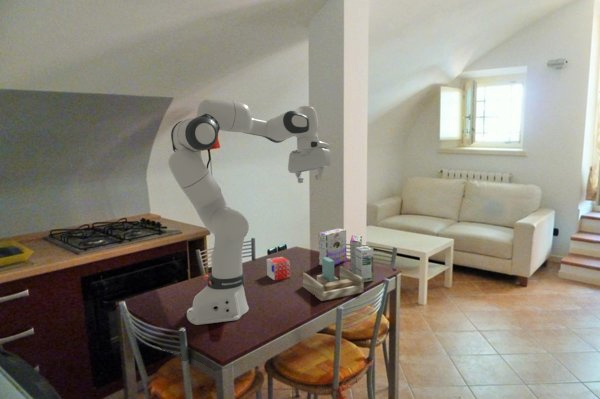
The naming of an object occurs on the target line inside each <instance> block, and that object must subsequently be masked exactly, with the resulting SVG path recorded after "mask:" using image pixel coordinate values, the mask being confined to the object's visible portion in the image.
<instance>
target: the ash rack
mask: <svg viewBox="0 0 600 399" xmlns="http://www.w3.org/2000/svg"><path fill="white" fill-rule="evenodd" d="M345 279H349V280H351V281H352V282H353V286H351V287H346V288H341V289H336V290H331V291H326V292H324V285H322V284H323V283H328V281H327V280H326V279H324V278H323V275H322V274H319V275H316V279H315V278H314V277H312V276H311V275H309V274H307V273H306V272H302V287H303V288H304V289H305V290H306V291H307V292H308V293H309V292H310V294H312V295H313V296H314V295H315V297H316V298H317V299H318V300H320V301H321V302H323V301H327V300H333V299H338V298H342V297H347V296H352V295H357V294H362V293H364V282H363V278H362V277H361V276H359V275H357V274H355V273H353V272H352V271H351V269H348V268H346V267H345V266H339V278H338V277H336V275H334V281H339V280H345Z"/></svg>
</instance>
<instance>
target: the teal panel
mask: <svg viewBox="0 0 600 399" xmlns="http://www.w3.org/2000/svg"><path fill="white" fill-rule="evenodd" d="M321 268H322V273H321V275H323V278H324V279H326V280H327V281H328V283H329V282H334V276H335V265H334V260H332V259H330V258H328V257H325V258H322V266H321Z"/></svg>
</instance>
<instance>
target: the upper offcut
mask: <svg viewBox="0 0 600 399" xmlns="http://www.w3.org/2000/svg"><path fill="white" fill-rule="evenodd" d="M322 285H324V291H325V292H326V291H331V290H336V289H341V288H346V287H351V286H353V282H352V281H351V280H349V279H345V280H340V279H339V281H334V282H329V283H323V284H322Z"/></svg>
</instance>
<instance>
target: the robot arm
mask: <svg viewBox="0 0 600 399" xmlns="http://www.w3.org/2000/svg"><path fill="white" fill-rule="evenodd" d="M316 110H317V109H315V108H314V107H312V106H310V105H302V106H301V105H300V106H299V107H298V108H296V109H293V110H289V111H288V110H287V111H286V112H284V113H280V115H278V116H275V117H274V118H270V119H268V120H263V119H258V118H254V117H252V116H253V115H252V111H251V108H250V107H249V106H248V105H247V104H246V103H244V102H241V101H238V100H233V99H226V98H205V99H202V100H201V102H200V103H199V105H198V106H197V110H196V111H197V112H196V113H197V114H196V116H195V117H192V118H191V117H190V118H187V119H184V120H180V121H178V122H177V123H176V124H175V125H173V127H172V129H171V131H170V140H171V144H172V145H171V146H172V151H173V153H172V154H171V155H170V156H169V158H168V161H167V162H168V167H169V169H170V171H171V174H172V176H173V177H174V179H175V181H176V182H177V184H178V186H179V188H180V189H181V190H182V192H183V193H184V194H185V196H186V197H187V198H188V200H189V201H190V203H191V204H192V206H193V207H194V209H195V211H196V212H197V215H198V217H199V218H200V220H201V222H202V224H203V225H204V226H205V229H206V230H208V232H210V233H211V234H213V237H214V245H213V250H212V252H211V253H210V254H211V255H210V259H211V275H209V274H204V276H203V280H204V281H205V282H206V286H205V287H204V288H203V289H201V291H199V292H198V293H197V294H196V295H195V296H194V298H193V301H192V306H191V307H190V308H188V309H187V310H186V318H187V320H188V322H190V323H191V324H193V325H195V326H198V325H199V326H200V325H206V324H208V325H209V324H214V323H222V322H231V321H238V320H239V319H240V318H241V317H242V316H243V315H245V314H247V312H249V309H250V307H249V305H248V302H247V297H246V293H245V284H246V282H245V273H244V272H243V246H244V243H245V242H244V241H245V237H246V236H247V234H248V233H249V223H248V220H247V218H246V217H245V216H244V215H243V214H242V213H241V212H240V211H237V210H235V209H232V208H231V207H230V206H229V205H228V204H227V202H226V200H225V198H224V195H223V193H222V190H221V186H220V185H219V184H218V182H217V181H216V179H215V178H214V176H213V175H212V172H211V171H210V170H209V169H208V167H207V165H205V163H204V161H203V159H202V151H208V150H209V149H211V148H212V147H213V146H214V145H215V144H216V143H217V141H218V138H219V137H218V136H219V132H220V131H223V132H230V133H232V132H233V133H241V134H242V133H243V134H247V135H252V136H259V137H261V138H265V139H267V140H268V141H271V142H272V143H275V144H279V143H280V144H281V143H282V142H284V141H286V140H288V139H291V138H293V137H296V150H295V149H294V150H292V151H291V152H290V153H289V155H288V163H287V164H288V166H287V167H288V168H287V170H288V172H289V173H290V174H295V177H296V179H297V183H298V184H303V183H304V178H302V176H301V175H302V173H303V172H308V171H309V172H310V171H314V170H317V173H316V175H315V180H316V181H321V180H322V174H323V173H324V169H325V168H329V167H331V165H332V154H331V151H330V148H331V147H330V146H331V145H330V144H329V143H327V142H324V141H320V138H319V134H318V133H319V118H318V113H317V111H316Z"/></svg>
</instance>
